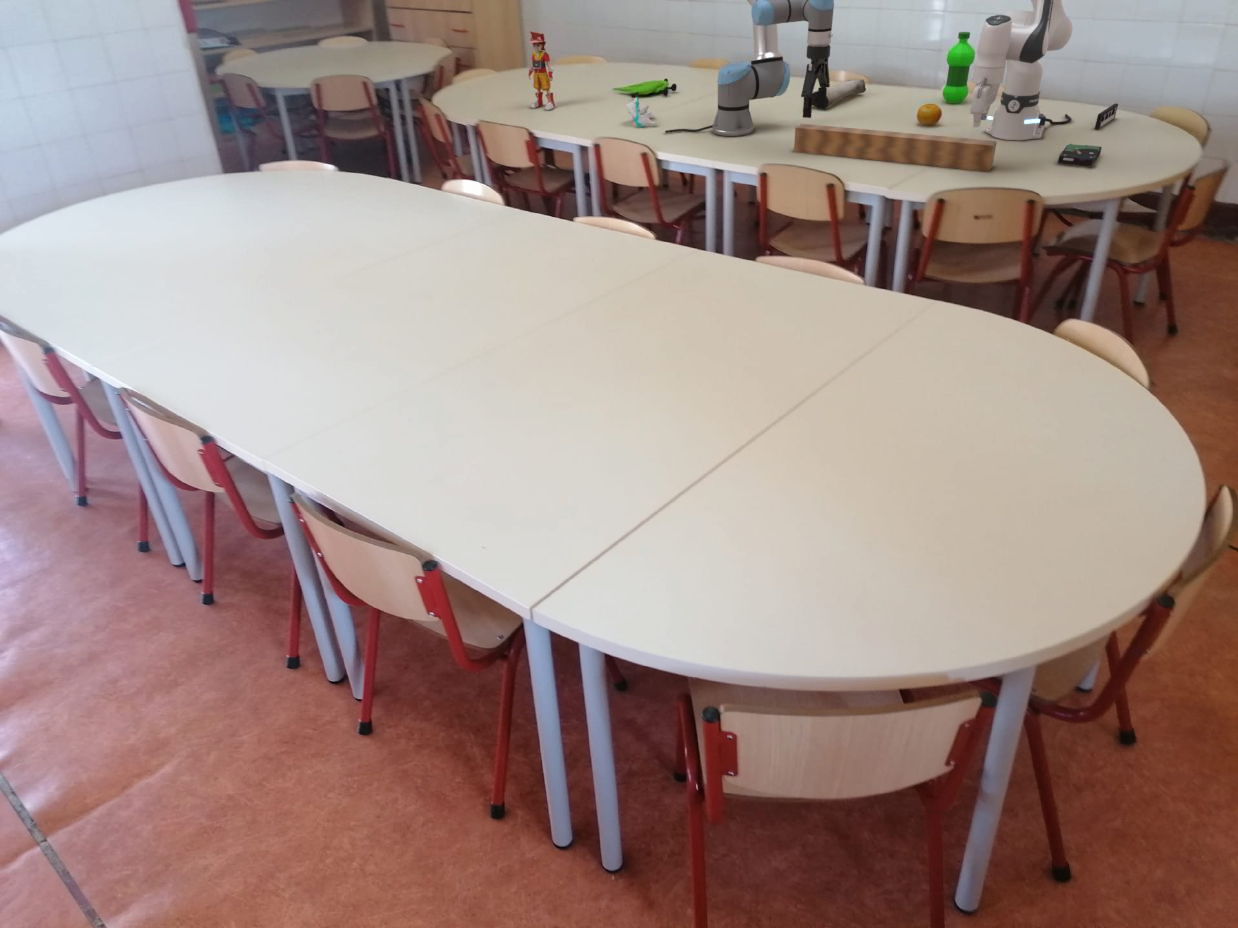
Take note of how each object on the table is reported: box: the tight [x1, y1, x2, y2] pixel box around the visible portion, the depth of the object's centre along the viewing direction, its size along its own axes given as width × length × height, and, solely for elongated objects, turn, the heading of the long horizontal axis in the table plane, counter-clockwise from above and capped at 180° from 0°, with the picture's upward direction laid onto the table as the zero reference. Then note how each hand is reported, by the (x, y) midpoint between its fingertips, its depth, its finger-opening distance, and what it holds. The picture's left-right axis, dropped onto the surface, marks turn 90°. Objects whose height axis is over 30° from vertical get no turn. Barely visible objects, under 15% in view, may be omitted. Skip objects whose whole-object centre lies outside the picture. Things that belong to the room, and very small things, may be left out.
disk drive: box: [1057, 143, 1102, 167], centre depth 287 cm, size 10×3×15 cm
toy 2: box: [612, 78, 677, 99], centre depth 396 cm, size 28×5×30 cm
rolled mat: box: [811, 78, 867, 111], centre depth 364 cm, size 30×9×10 cm
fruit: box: [916, 103, 943, 126], centre depth 329 cm, size 8×8×8 cm
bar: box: [793, 123, 998, 172], centre depth 297 cm, size 65×6×8 cm, turn 59°
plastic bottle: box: [942, 31, 976, 104], centre depth 348 cm, size 10×10×25 cm
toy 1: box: [527, 31, 556, 111], centre depth 374 cm, size 12×9×30 cm
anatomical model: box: [625, 97, 657, 128], centre depth 351 cm, size 15×10×10 cm
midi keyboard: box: [1094, 103, 1119, 130], centre depth 318 cm, size 18×1×5 cm, turn 138°
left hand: (814, 112), depth 304 cm, fingers open, 13 cm apart
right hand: (979, 123), depth 279 cm, fingers open, 8 cm apart
